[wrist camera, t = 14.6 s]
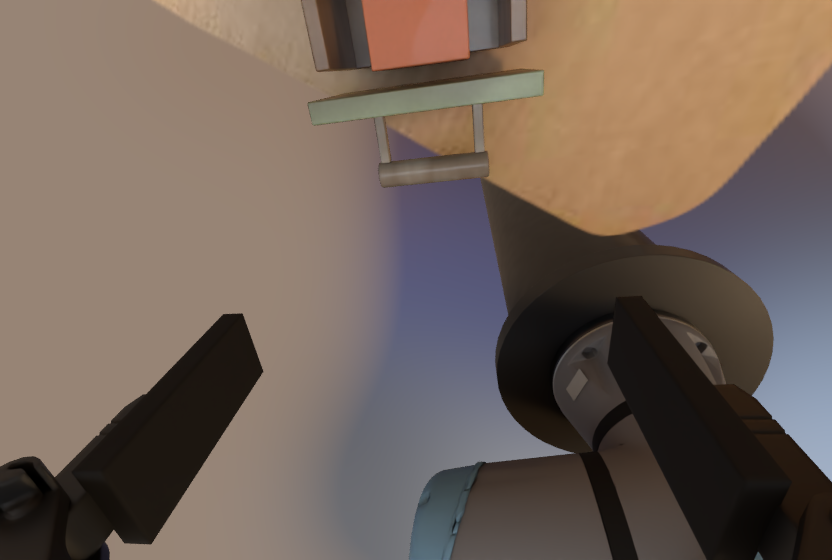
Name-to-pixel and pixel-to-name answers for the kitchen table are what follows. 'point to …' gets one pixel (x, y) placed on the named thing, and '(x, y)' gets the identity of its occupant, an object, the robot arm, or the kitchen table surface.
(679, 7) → the kitchen table surface
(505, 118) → the kitchen table surface
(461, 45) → the block
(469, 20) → the drawer
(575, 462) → the robot arm
